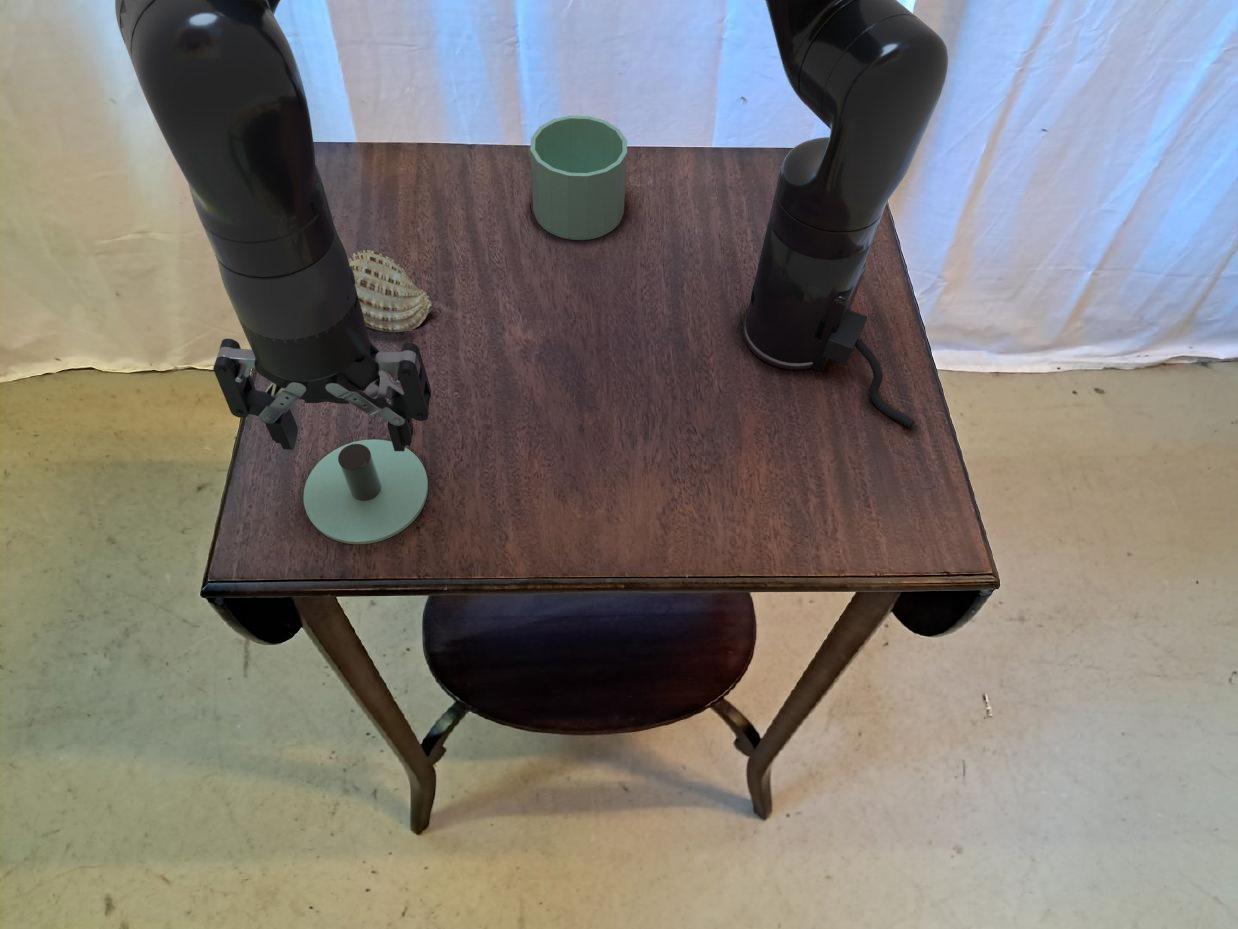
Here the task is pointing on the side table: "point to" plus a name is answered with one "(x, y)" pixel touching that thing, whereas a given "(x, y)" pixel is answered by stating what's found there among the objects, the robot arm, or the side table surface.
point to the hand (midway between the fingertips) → (346, 441)
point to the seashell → (387, 293)
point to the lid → (365, 492)
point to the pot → (578, 176)
